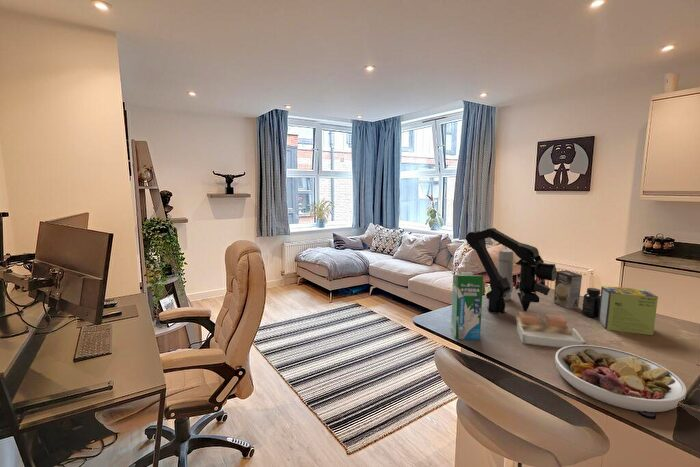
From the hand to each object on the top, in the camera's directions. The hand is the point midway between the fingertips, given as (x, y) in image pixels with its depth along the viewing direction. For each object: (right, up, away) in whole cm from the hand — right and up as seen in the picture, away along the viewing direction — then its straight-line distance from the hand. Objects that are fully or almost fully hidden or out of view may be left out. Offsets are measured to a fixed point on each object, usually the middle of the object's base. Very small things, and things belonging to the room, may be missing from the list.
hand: (525, 311), depth 147 cm
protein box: (+36, -5, -9) cm, 37 cm away
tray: (-1, -6, -19) cm, 20 cm away
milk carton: (-31, -6, -14) cm, 34 cm away
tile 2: (+7, -3, -9) cm, 12 cm away
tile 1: (-2, -3, -6) cm, 7 cm away
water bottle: (+3, 0, +26) cm, 26 cm away
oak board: (+2, -5, -9) cm, 10 cm away
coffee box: (+28, -1, +17) cm, 33 cm away
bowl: (+2, -11, -47) cm, 48 cm away
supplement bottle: (+31, -3, +4) cm, 32 cm away
